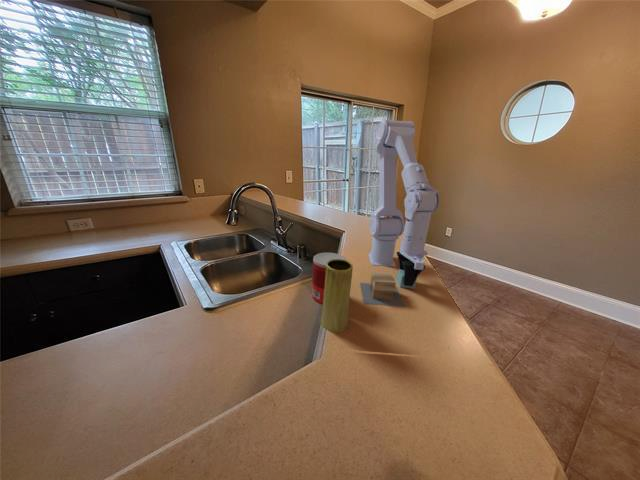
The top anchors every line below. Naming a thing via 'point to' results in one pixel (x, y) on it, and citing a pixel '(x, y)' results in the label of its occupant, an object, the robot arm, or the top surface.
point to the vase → (336, 295)
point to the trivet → (369, 300)
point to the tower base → (381, 294)
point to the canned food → (321, 274)
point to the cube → (401, 280)
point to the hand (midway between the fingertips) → (406, 280)
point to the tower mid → (383, 281)
